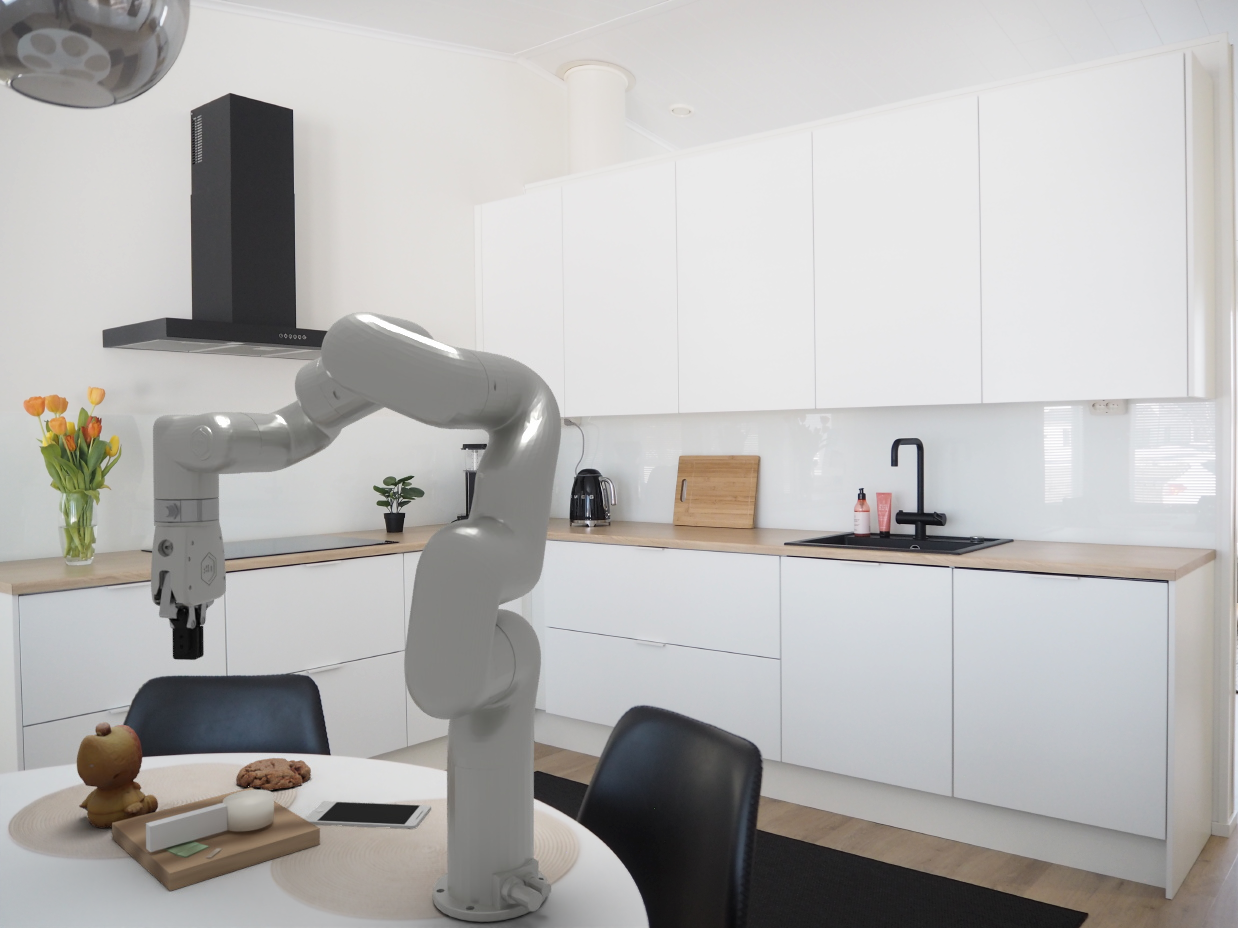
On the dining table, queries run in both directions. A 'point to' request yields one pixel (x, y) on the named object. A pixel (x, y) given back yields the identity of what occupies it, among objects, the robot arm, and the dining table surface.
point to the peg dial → (213, 819)
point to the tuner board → (213, 845)
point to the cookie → (274, 774)
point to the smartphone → (368, 814)
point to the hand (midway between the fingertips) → (188, 657)
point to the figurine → (113, 775)
